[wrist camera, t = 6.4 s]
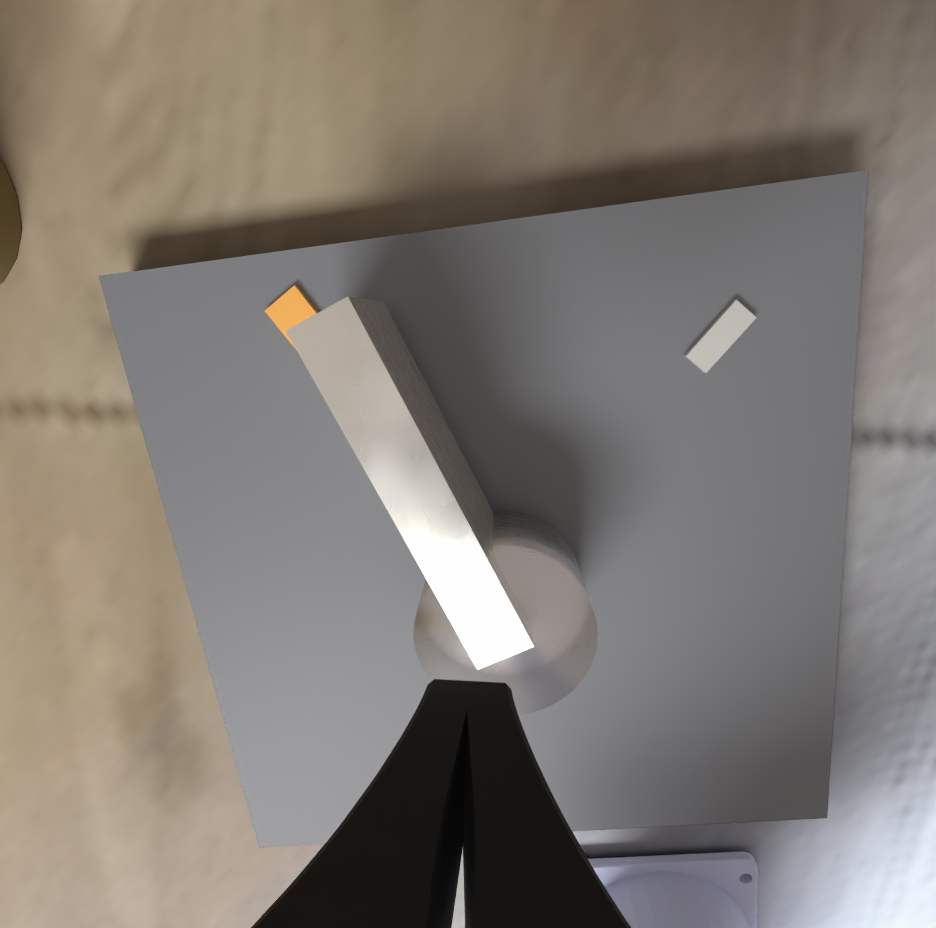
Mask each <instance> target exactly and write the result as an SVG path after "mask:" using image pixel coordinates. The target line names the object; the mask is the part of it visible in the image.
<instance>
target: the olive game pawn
mask: <svg viewBox="0 0 936 928" xmlns="http://www.w3.org/2000/svg"><path fill="white" fill-rule="evenodd" d="M21 230H22V228H21V220H20V213H19V205H18V197H17V195H16V192H15V190H14V187H13V185H12V182H11V180H10V178H9V175H8V173H7V170H6V168H5V165H4V164H3V163H2V161H1V160H0V284H1V283H2V282H3V281H4V280H5V278H6V276H7V274H8V273H9V271H10V269H11V267H12V266H13V264H14V262H15V260H16V259H17V253H18V248H19V242H20V236H21Z"/></svg>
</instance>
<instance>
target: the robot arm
mask: <svg viewBox="0 0 936 928" xmlns="http://www.w3.org/2000/svg"><path fill="white" fill-rule="evenodd" d="M462 848H463V862H464V900H465V928H757V885H758V866H757V863H756V861H755V859H754V857H753V856H752V855H751V854H750V853H748V852H742V851H740V852H720V853H699V854H678V855H657V856H636V857H616V858H595V859H587V857H586V855H585V853H584V852H583V850H582V848H581V847H580V845H579V843H578V841H577V839H576V838H575V836H574V834H573V832H572V830H571V828H570V827H569V825H568V823H567V821H566V819H565V818H564V816H563V814H562V812H561V810H560V808H559V806H558V804H557V802H556V800H555V798H554V796H553V794H552V792H551V790H550V788H549V786H548V784H547V782H546V780H545V778H544V776H543V773H542V771H541V769H540V767H539V765H538V763H537V761H536V758H535V756H534V754H533V752H532V749H531V747H530V745H529V742H528V740H527V737H526V734H525V732H524V729H523V727H522V724H521V721H520V718H519V716H518V713H517V710H516V706H515V703H514V699H513V695H512V690H511V688H510V687H509V686H508V685H507V684H506V683H500V682H481V681H463V680H444V679H434V680H433V681H431V682H430V683H429V684H428V685H427V688H426V690H425V693H424V695H423V697H422V699H421V701H420V703H419V705H418V707H417V709H416V711H415V713H414V715H413V716H412V718H411V720H410V722H409V723H408V725H407V727H406V729H405V730H404V732H403V734H402V736H401V737H400V739H399V740H398V742H397V744H396V745H395V747H394V748H393V750H392V751H391V753H390V755H389V756H388V758H387V759H386V761H385V762H384V764H383V766H382V767H381V769H380V770H379V772H378V773H377V775H376V776H375V778H374V779H373V780H372V782H371V783H370V785H369V786H368V787H367V789H366V790H365V792H364V793H363V794H362V796H361V797H360V798H359V800H358V801H357V803H356V804H355V805H354V807H353V808H352V809H351V811H350V812H349V814H348V815H347V816H346V818H345V819H344V820H343V822H342V823H341V824H340V826H339V827H338V828H337V829H336V831H335V832H334V833H333V835H332V836H331V837H330V838H329V840H328V841H327V842H326V843H325V845H324V846H323V847H322V848H321V849H320V851H319V852H318V853H317V854H316V856H315V857H314V858H313V859H312V860H311V861H310V863H309V864H308V865H307V866H306V867H305V869H304V870H303V871H302V872H301V873H300V874H299V876H298V877H297V878H296V879H295V880H294V881H293V883H292V884H291V885H290V886H289V887H288V888H287V889H286V890H285V892H284V893H283V894H282V895H281V896H280V897H279V898H278V899H277V900H276V901H275V902H274V903H273V905H272V906H271V907H270V908H269V909H268V910H267V911H266V912H265V913H264V914H263V915H262V916H261V918H260V919H259V920H258V921H257V922H256V923H255V924H254V925H253V926H252V927H251V928H451V925H452V918H453V911H454V904H455V897H456V890H457V883H458V876H459V869H460V862H461V855H462Z"/></svg>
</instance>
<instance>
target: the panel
mask: <svg viewBox="0 0 936 928" xmlns="http://www.w3.org/2000/svg"><path fill="white" fill-rule="evenodd" d="M867 184H868V170H864V171H856V172H849V173H842V174H835V175H827V176H820V177H813V178H806V179H799V180H791V181H784V182H777V183H770V184H762V185H755V186H748V187H741V188H733V189H726V190H719V191H712V192H704V193H697V194H690V195H683V196H675V197H668V198H661V199H654V200H646V201H639V202H632V203H625V204H617V205H610V206H603V207H596V208H589V209H581V210H574V211H567V212H560V213H552V214H545V215H538V216H531V217H523V218H516V219H509V220H502V221H494V222H487V223H480V224H473V225H465V226H458V227H451V228H444V229H436V230H429V231H422V232H415V233H408V234H400V235H393V236H386V237H379V238H371V239H364V240H357V241H350V242H342V243H335V244H328V245H321V246H313V247H306V248H299V249H292V250H284V251H277V252H270V253H263V254H255V255H248V256H241V257H234V258H226V259H219V260H212V261H205V262H198V263H190V264H183V265H176V266H169V267H161V268H154V269H147V270H140V271H132V272H125V273H118V274H111V275H103V276H99V279H100V283H101V286H102V290H103V293H104V297H105V301H106V304H107V308H108V311H109V315H110V318H111V322H112V325H113V329H114V333H115V336H116V340H117V343H118V347H119V350H120V354H121V358H122V361H123V365H124V368H125V372H126V375H127V379H128V382H129V386H130V390H131V393H132V397H133V400H134V404H135V407H136V411H137V414H138V418H139V422H140V425H141V429H142V432H143V436H144V439H145V443H146V446H147V450H148V454H149V457H150V461H151V464H152V468H153V471H154V475H155V478H156V482H157V486H158V489H159V493H160V496H161V500H162V503H163V507H164V511H165V514H166V518H167V521H168V525H169V528H170V532H171V535H172V539H173V543H174V546H175V550H176V553H177V557H178V560H179V564H180V567H181V571H182V575H183V578H184V582H185V585H186V589H187V592H188V596H189V599H190V603H191V607H192V610H193V614H194V617H195V621H196V624H197V628H198V632H199V635H200V639H201V642H202V646H203V649H204V653H205V656H206V660H207V664H208V667H209V671H210V674H211V678H212V681H213V685H214V688H215V692H216V696H217V699H218V703H219V706H220V710H221V713H222V717H223V720H224V724H225V728H226V731H227V735H228V738H229V742H230V745H231V749H232V752H233V756H234V760H235V763H236V767H237V770H238V774H239V777H240V781H241V785H242V788H243V792H244V795H245V799H246V802H247V806H248V809H249V813H250V817H251V820H252V824H253V827H254V831H255V834H256V838H257V841H258V845H259V848H260V847H279V846H299V845H318V844H325V843H326V842H327V841H328V840H329V838H330V837H331V836H332V835H333V833H334V832H335V831H336V829H337V828H338V827H339V826H340V824H341V823H342V822H343V820H344V819H345V818H346V816H347V815H348V814H349V812H350V811H351V809H352V808H353V807H354V805H355V804H356V803H357V801H358V800H359V798H360V797H361V796H362V794H363V793H364V792H365V790H366V789H367V787H368V786H369V785H370V783H371V782H372V780H373V779H374V778H375V776H376V775H377V773H378V772H379V770H380V769H381V767H382V766H383V764H384V762H385V761H386V759H387V758H388V756H389V755H390V753H391V751H392V750H393V748H394V747H395V745H396V744H397V742H398V740H399V739H400V737H401V736H402V734H403V732H404V730H405V729H406V727H407V725H408V723H409V722H410V720H411V718H412V716H413V715H414V713H415V711H416V709H417V707H418V705H419V703H420V701H421V699H422V697H423V695H424V693H425V690H426V688H427V685H428V684H429V683H430V682H431V681H430V680H429V678H428V677H427V675H426V674H425V672H424V671H423V669H422V667H421V665H420V663H419V660H418V657H417V654H416V651H415V646H414V635H413V630H414V621H415V617H416V613H417V609H418V605H419V601H420V598H421V594H422V590H423V586H424V582H425V576H424V574H423V573H422V571H421V569H420V567H419V565H418V564H417V562H416V560H415V558H414V557H413V555H412V553H411V551H410V550H409V548H408V546H407V544H406V543H405V541H404V539H403V537H402V535H401V534H400V532H399V530H398V528H397V527H396V525H395V523H394V521H393V520H392V518H391V516H390V514H389V513H388V511H387V509H386V507H385V505H384V504H383V502H382V500H381V498H380V497H379V495H378V493H377V491H376V490H375V488H374V486H373V484H372V483H371V481H370V479H369V477H368V475H367V474H366V472H365V470H364V468H363V467H362V465H361V463H360V461H359V460H358V458H357V456H356V454H355V453H354V451H353V449H352V447H351V445H350V444H349V442H348V440H347V438H346V437H345V435H344V433H343V431H342V430H341V428H340V426H339V424H338V423H337V421H336V419H335V417H334V415H333V414H332V412H331V410H330V408H329V407H328V405H327V403H326V401H325V400H324V398H323V396H322V394H321V392H320V391H319V389H318V387H317V385H316V384H315V382H314V380H313V378H312V377H311V375H310V373H309V371H308V370H307V368H306V366H305V364H304V362H303V361H302V359H301V357H300V355H299V354H298V352H297V350H296V348H295V347H294V345H293V343H292V341H291V340H290V338H289V336H288V334H287V332H286V330H288V329H290V328H291V327H293V326H295V325H297V324H299V323H300V322H302V321H304V320H306V319H308V318H310V317H311V316H313V315H315V314H317V313H319V312H320V311H322V310H324V309H326V308H328V307H329V306H331V305H333V304H335V303H337V302H339V301H340V300H342V299H344V298H346V297H355V298H362V299H369V300H376V301H383V302H385V304H386V306H387V308H388V310H389V312H390V314H391V316H392V318H393V320H394V322H395V324H396V326H397V328H398V329H399V331H400V333H401V335H402V337H403V339H404V341H405V343H406V345H407V347H408V349H409V351H410V353H411V355H412V356H413V358H414V360H415V362H416V364H417V366H418V368H419V370H420V372H421V374H422V376H423V378H424V380H425V382H426V384H427V385H428V387H429V389H430V391H431V393H432V395H433V397H434V399H435V401H436V403H437V405H438V407H439V409H440V411H441V413H442V414H443V416H444V418H445V420H446V422H447V424H448V426H449V428H450V430H451V432H452V434H453V436H454V438H455V440H456V442H457V443H458V445H459V447H460V449H461V451H462V453H463V455H464V457H465V459H466V461H467V463H468V465H469V467H470V469H471V471H472V472H473V474H474V476H475V478H476V480H477V482H478V484H479V486H480V488H481V490H482V492H483V494H484V496H485V498H486V500H487V501H488V503H489V505H490V507H491V509H492V511H513V512H520V513H524V514H527V515H530V516H533V517H535V518H538V519H540V520H542V521H543V522H545V523H547V524H548V525H550V526H551V527H552V528H554V529H555V530H556V531H557V532H558V533H559V534H560V535H561V536H562V537H563V538H564V539H565V540H566V542H567V543H568V544H569V546H570V548H571V550H572V551H573V553H574V556H575V558H576V561H577V564H578V567H579V570H580V573H581V576H582V578H583V581H584V584H585V587H586V590H587V593H588V596H589V599H590V602H591V605H592V608H593V611H594V614H595V618H596V622H597V630H598V641H597V649H596V653H595V657H594V660H593V662H592V665H591V667H590V669H589V671H588V672H587V674H586V676H585V677H584V679H583V680H582V681H581V683H580V684H579V685H578V686H577V687H576V688H575V689H574V690H573V691H572V692H571V693H570V694H568V695H567V696H566V697H565V698H563V699H562V700H560V701H558V702H557V703H555V704H553V705H551V706H549V707H547V708H544V709H542V710H539V711H535V712H532V713H527V714H522V715H518V716H519V718H520V721H521V724H522V727H523V729H524V732H525V734H526V737H527V740H528V742H529V745H530V747H531V749H532V752H533V754H534V756H535V758H536V761H537V763H538V765H539V767H540V769H541V771H542V773H543V776H544V778H545V780H546V782H547V784H548V786H549V788H550V790H551V792H552V794H553V796H554V798H555V800H556V802H557V804H558V806H559V808H560V810H561V812H562V814H563V816H564V818H565V819H566V821H567V823H568V825H569V827H570V828H571V830H572V831H587V830H606V829H625V828H644V827H663V826H683V825H702V824H721V823H740V822H759V821H779V820H798V819H817V818H827V810H828V794H829V779H830V763H831V747H832V732H833V716H834V700H835V685H836V669H837V653H838V638H839V622H840V606H841V591H842V575H843V559H844V544H845V528H846V512H847V497H848V481H849V465H850V450H851V434H852V418H853V403H854V387H855V371H856V356H857V340H858V324H859V309H860V293H861V277H862V262H863V246H864V230H865V215H866V199H867Z"/></svg>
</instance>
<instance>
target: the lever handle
mask: <svg viewBox="0 0 936 928" xmlns="http://www.w3.org/2000/svg"><path fill="white" fill-rule="evenodd" d="M286 332H287V334H288V336H289V338H290V340H291V341H292V343H293V345H294V347H295V348H296V350H297V352H298V354H299V355H300V357H301V359H302V361H303V362H304V364H305V366H306V368H307V370H308V371H309V373H310V375H311V377H312V378H313V380H314V382H315V384H316V385H317V387H318V389H319V391H320V392H321V394H322V396H323V398H324V400H325V401H326V403H327V405H328V407H329V408H330V410H331V412H332V414H333V415H334V417H335V419H336V421H337V423H338V424H339V426H340V428H341V430H342V431H343V433H344V435H345V437H346V438H347V440H348V442H349V444H350V445H351V447H352V449H353V451H354V453H355V454H356V456H357V458H358V460H359V461H360V463H361V465H362V467H363V468H364V470H365V472H366V474H367V475H368V477H369V479H370V481H371V483H372V484H373V486H374V488H375V490H376V491H377V493H378V495H379V497H380V498H381V500H382V502H383V504H384V505H385V507H386V509H387V511H388V513H389V514H390V516H391V518H392V520H393V521H394V523H395V525H396V527H397V528H398V530H399V532H400V534H401V535H402V537H403V539H404V541H405V543H406V544H407V546H408V548H409V550H410V551H411V553H412V555H413V557H414V558H415V560H416V562H417V564H418V565H419V567H420V569H421V571H422V573H423V574H424V576H425V582H424V586H423V590H422V594H421V598H420V601H419V605H418V609H417V613H416V617H415V621H414V630H413V635H414V646H415V651H416V654H417V657H418V660H419V663H420V665H421V667H422V669H423V671H424V672H425V674H426V675H427V677H428V678H429V680H430V681H433V680H434V679H444V680H463V681H481V682H500V683H506V684H507V685H508V686H509V687H510V688H511V690H512V695H513V699H514V703H515V706H516V710H517V713H518V715H522V714H527V713H532V712H535V711H539V710H542V709H544V708H547V707H549V706H551V705H553V704H555V703H557V702H558V701H560V700H562V699H563V698H565V697H566V696H567V695H568V694H570V693H571V692H572V691H573V690H574V689H575V688H576V687H577V686H578V685H579V684H580V683H581V681H582V680H583V679H584V677H585V676H586V674H587V672H588V671H589V669H590V667H591V665H592V662H593V660H594V657H595V653H596V649H597V641H598V630H597V622H596V618H595V614H594V611H593V608H592V605H591V602H590V599H589V596H588V593H587V590H586V587H585V584H584V581H583V578H582V576H581V573H580V570H579V567H578V564H577V561H576V558H575V556H574V553H573V551H572V550H571V548H570V546H569V544H568V543H567V542H566V540H565V539H564V538H563V537H562V536H561V535H560V534H559V533H558V532H557V531H556V530H555V529H554V528H552V527H551V526H550V525H548V524H547V523H545V522H543V521H542V520H540V519H538V518H535V517H533V516H530V515H527V514H524V513H520V512H513V511H492V509H491V507H490V505H489V503H488V501H487V500H486V498H485V496H484V494H483V492H482V490H481V488H480V486H479V484H478V482H477V480H476V478H475V476H474V474H473V472H472V471H471V469H470V467H469V465H468V463H467V461H466V459H465V457H464V455H463V453H462V451H461V449H460V447H459V445H458V443H457V442H456V440H455V438H454V436H453V434H452V432H451V430H450V428H449V426H448V424H447V422H446V420H445V418H444V416H443V414H442V413H441V411H440V409H439V407H438V405H437V403H436V401H435V399H434V397H433V395H432V393H431V391H430V389H429V387H428V385H427V384H426V382H425V380H424V378H423V376H422V374H421V372H420V370H419V368H418V366H417V364H416V362H415V360H414V358H413V356H412V355H411V353H410V351H409V349H408V347H407V345H406V343H405V341H404V339H403V337H402V335H401V333H400V331H399V329H398V328H397V326H396V324H395V322H394V320H393V318H392V316H391V314H390V312H389V310H388V308H387V306H386V304H385V302H383V301H376V300H369V299H362V298H355V297H346V298H344V299H342V300H340V301H339V302H337V303H335V304H333V305H331V306H329V307H328V308H326V309H324V310H322V311H320V312H319V313H317V314H315V315H313V316H311V317H310V318H308V319H306V320H304V321H302V322H300V323H299V324H297V325H295V326H293V327H291V328H290V329H288V330H286Z"/></svg>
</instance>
